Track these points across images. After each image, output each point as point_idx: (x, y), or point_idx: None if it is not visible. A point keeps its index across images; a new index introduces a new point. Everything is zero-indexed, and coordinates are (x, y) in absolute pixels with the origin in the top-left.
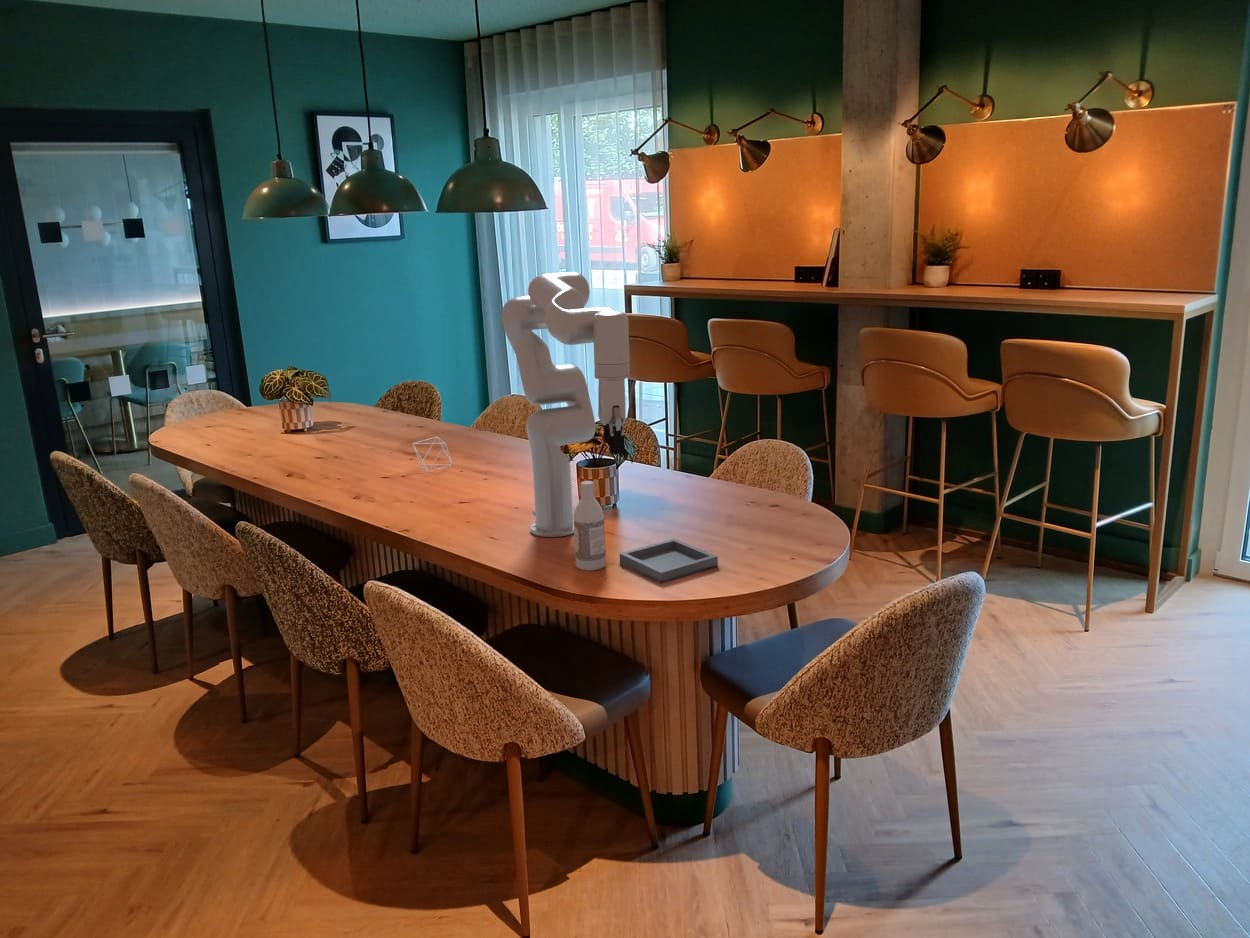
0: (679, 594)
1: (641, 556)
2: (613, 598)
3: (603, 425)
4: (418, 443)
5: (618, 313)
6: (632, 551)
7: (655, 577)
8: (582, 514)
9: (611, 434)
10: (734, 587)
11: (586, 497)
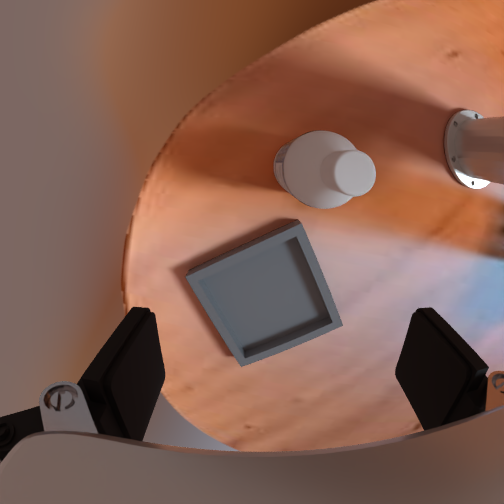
0: (144, 286)
1: (306, 260)
2: (143, 187)
3: (481, 369)
4: None
5: None
6: (304, 248)
7: (201, 265)
8: (296, 148)
9: (45, 393)
10: (162, 355)
11: (321, 163)
